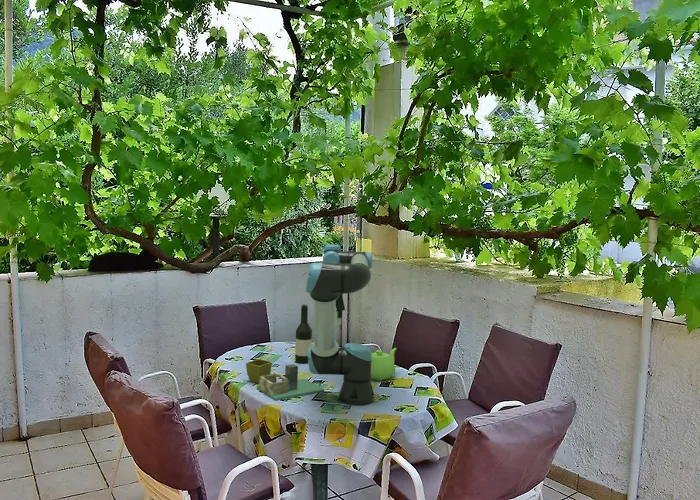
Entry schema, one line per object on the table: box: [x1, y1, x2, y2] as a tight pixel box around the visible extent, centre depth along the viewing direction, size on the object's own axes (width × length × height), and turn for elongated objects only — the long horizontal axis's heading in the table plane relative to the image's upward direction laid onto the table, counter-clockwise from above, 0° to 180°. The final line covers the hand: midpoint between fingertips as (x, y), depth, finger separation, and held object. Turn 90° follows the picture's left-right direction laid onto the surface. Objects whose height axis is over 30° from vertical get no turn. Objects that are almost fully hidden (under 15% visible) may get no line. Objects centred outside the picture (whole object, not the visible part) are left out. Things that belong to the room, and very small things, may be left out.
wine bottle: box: [294, 304, 313, 365], centre depth 306 cm, size 8×8×30 cm
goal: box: [258, 371, 288, 395], centre depth 258 cm, size 12×8×6 cm, turn 34°
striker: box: [281, 363, 299, 390], centre depth 260 cm, size 5×5×10 cm
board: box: [256, 378, 325, 402], centre depth 262 cm, size 18×24×1 cm
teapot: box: [371, 347, 397, 381], centre depth 285 cm, size 22×15×13 cm
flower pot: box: [245, 358, 273, 384], centre depth 273 cm, size 9×9×9 cm
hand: (330, 322), depth 280 cm, fingers open, 13 cm apart
